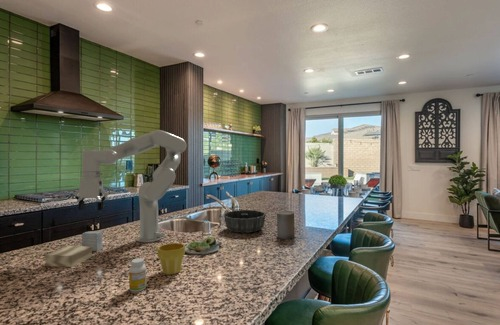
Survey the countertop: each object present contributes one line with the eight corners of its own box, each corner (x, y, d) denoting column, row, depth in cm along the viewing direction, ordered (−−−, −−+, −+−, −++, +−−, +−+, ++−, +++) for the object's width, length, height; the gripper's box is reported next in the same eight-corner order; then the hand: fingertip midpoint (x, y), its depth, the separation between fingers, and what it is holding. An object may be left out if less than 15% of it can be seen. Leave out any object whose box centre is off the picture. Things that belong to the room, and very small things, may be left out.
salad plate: (220, 257, 125) (220, 247, 125) (180, 258, 125) (180, 248, 125) (222, 244, 145) (222, 235, 144) (188, 244, 144) (188, 236, 144)
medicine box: (103, 248, 138) (102, 231, 138) (97, 251, 133) (96, 233, 133) (88, 248, 139) (87, 231, 138) (81, 251, 134) (81, 233, 134)
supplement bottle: (132, 285, 97) (132, 257, 97) (148, 284, 98) (147, 257, 98) (127, 292, 92) (126, 263, 92) (143, 291, 92) (143, 262, 92)
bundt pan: (251, 238, 154) (251, 220, 154) (214, 231, 168) (214, 215, 168) (273, 227, 177) (273, 212, 177) (239, 223, 191) (239, 208, 191)
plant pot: (163, 266, 114) (162, 242, 114) (188, 266, 114) (187, 242, 114) (153, 276, 104) (153, 250, 104) (181, 276, 104) (180, 250, 104)
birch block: (91, 257, 126) (91, 246, 126) (71, 267, 114) (71, 255, 114) (68, 256, 128) (67, 245, 128) (45, 266, 116) (45, 254, 116)
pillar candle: (294, 234, 160) (293, 208, 160) (295, 239, 151) (294, 211, 151) (277, 234, 161) (276, 208, 161) (277, 239, 152) (276, 211, 152)
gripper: (112, 174, 138) (112, 208, 138) (80, 174, 140) (80, 208, 140) (102, 175, 131) (102, 211, 131) (68, 175, 133) (68, 210, 133)
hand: (91, 209), depth 135 cm, fingers open, 9 cm apart
